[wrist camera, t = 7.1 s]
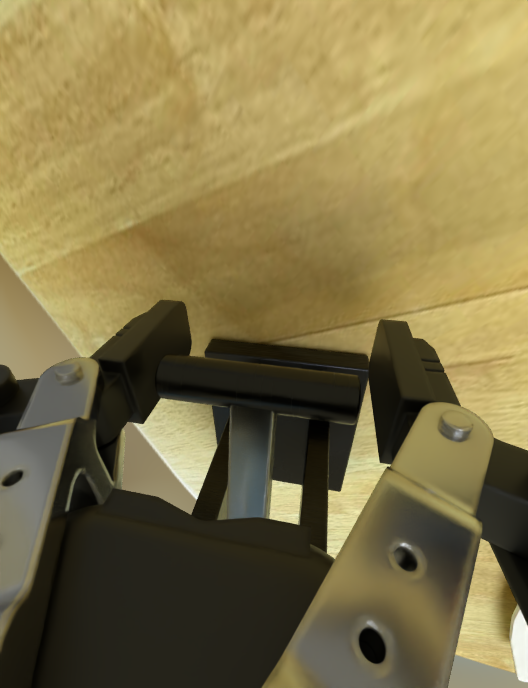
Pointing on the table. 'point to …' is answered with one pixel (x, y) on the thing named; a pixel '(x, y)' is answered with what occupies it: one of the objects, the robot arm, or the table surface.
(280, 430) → the lever bracket
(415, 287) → the table surface
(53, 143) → the table surface
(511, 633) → the plate
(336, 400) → the press lever
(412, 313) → the table surface
